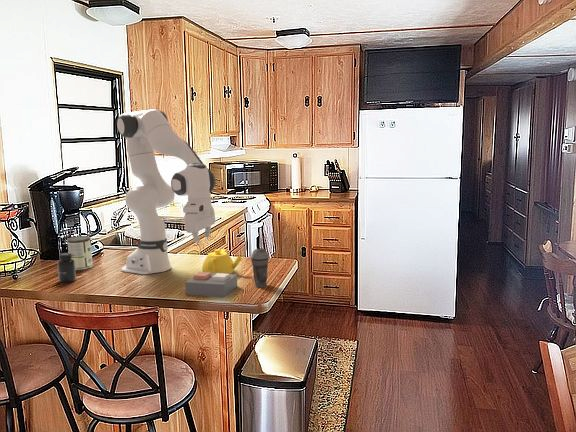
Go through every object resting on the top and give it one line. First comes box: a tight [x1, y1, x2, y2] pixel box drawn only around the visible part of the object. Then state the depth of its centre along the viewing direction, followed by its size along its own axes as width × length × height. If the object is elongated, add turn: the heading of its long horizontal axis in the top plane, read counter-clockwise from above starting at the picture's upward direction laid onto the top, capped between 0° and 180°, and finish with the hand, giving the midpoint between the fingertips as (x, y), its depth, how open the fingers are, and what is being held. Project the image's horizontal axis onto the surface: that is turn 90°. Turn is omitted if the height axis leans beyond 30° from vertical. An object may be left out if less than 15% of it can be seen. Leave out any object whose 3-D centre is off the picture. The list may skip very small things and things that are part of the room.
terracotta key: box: [193, 271, 211, 280], centre depth 209 cm, size 5×5×2 cm
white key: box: [212, 273, 229, 281], centre depth 206 cm, size 5×5×2 cm
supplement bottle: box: [57, 252, 77, 284], centre depth 225 cm, size 7×7×12 cm
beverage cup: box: [250, 236, 270, 288], centre depth 212 cm, size 7×7×20 cm
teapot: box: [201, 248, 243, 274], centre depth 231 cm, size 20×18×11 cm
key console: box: [184, 273, 238, 298], centre depth 208 cm, size 16×14×5 cm
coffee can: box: [66, 235, 94, 271], centre depth 247 cm, size 10×10×14 cm
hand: (202, 239), depth 207 cm, fingers open, 8 cm apart
